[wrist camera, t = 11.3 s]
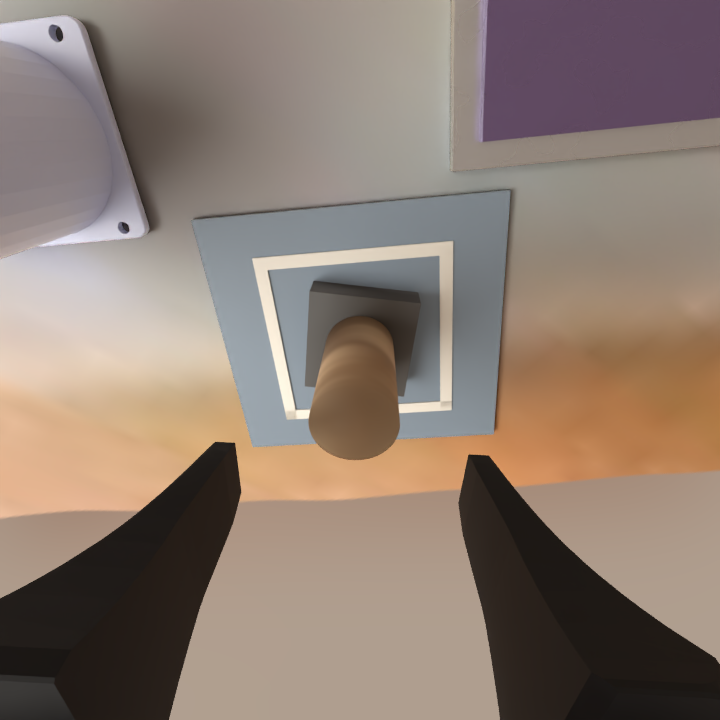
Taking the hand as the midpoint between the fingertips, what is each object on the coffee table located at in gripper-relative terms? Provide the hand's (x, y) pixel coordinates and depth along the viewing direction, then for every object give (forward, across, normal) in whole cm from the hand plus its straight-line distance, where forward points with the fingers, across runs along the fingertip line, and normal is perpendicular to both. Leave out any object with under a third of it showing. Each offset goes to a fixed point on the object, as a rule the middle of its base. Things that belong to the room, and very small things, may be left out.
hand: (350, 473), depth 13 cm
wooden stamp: (+10, 0, 0) cm, 10 cm away
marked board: (+10, 0, 0) cm, 10 cm away
